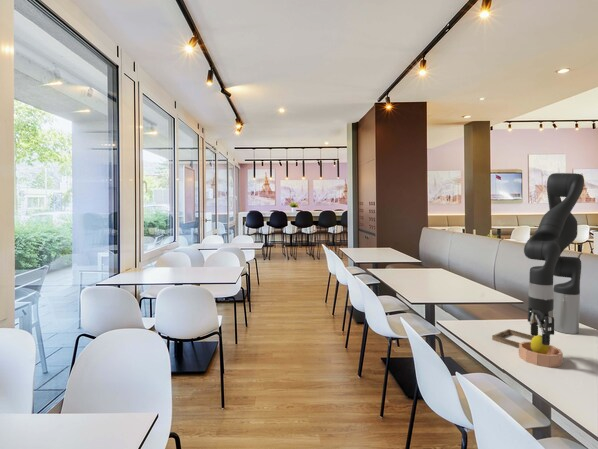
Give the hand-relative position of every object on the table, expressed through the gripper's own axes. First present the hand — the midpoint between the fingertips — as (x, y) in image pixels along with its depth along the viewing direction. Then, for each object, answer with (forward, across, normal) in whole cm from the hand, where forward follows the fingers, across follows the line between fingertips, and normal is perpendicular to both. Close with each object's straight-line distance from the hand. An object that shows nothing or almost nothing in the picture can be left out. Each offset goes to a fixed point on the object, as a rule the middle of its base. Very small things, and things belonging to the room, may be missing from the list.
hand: (539, 339), depth 124 cm
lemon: (+6, 0, 0) cm, 6 cm away
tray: (+7, -17, -1) cm, 18 cm away
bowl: (+7, 0, 0) cm, 7 cm away
